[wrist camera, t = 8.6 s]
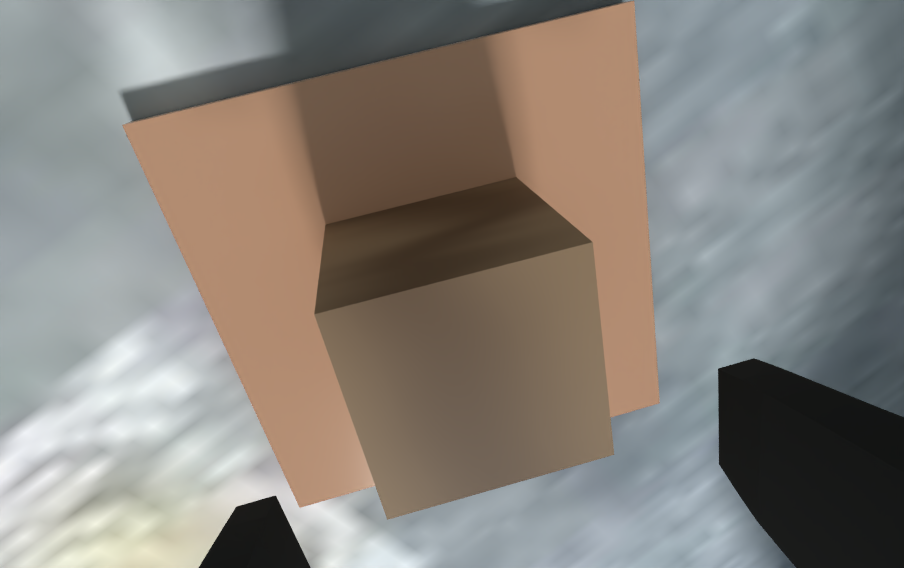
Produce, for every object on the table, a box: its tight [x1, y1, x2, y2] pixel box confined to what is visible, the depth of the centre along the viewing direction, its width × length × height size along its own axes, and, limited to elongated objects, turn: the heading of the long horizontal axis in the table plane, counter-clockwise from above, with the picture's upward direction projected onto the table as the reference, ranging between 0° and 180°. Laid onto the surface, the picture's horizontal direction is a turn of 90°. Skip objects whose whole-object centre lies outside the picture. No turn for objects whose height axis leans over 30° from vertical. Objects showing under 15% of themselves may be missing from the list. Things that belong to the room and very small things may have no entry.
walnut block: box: [314, 177, 614, 520], centre depth 13 cm, size 5×5×5 cm
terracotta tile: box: [122, 1, 660, 508], centre depth 16 cm, size 12×12×1 cm
